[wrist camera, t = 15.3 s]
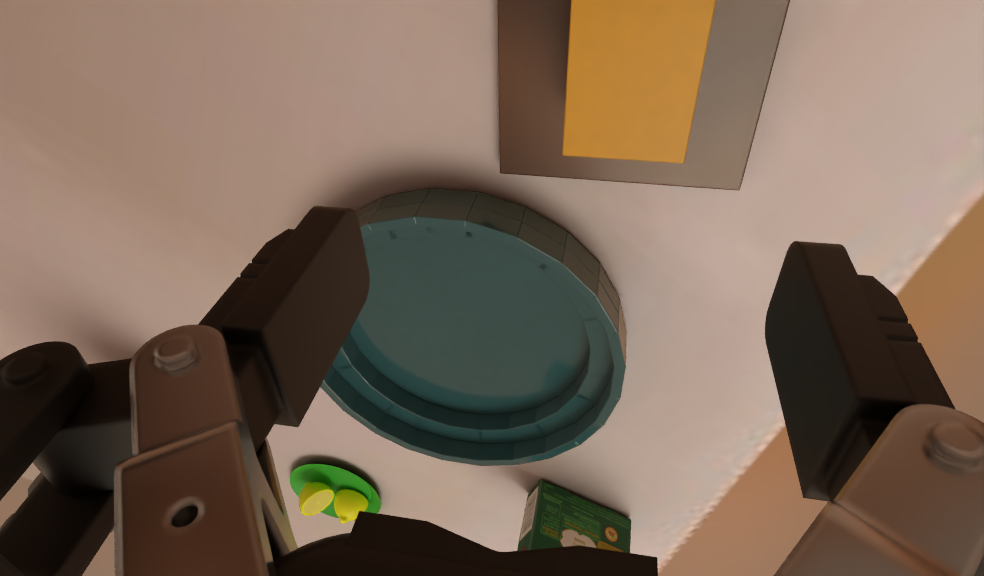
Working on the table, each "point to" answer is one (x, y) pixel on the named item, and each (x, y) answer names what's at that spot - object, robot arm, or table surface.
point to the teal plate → (479, 332)
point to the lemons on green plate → (333, 492)
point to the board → (718, 111)
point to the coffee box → (570, 522)
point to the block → (634, 77)
